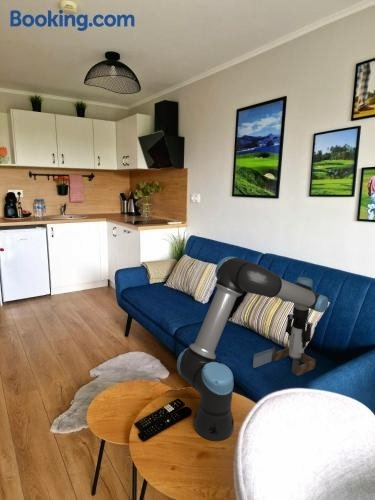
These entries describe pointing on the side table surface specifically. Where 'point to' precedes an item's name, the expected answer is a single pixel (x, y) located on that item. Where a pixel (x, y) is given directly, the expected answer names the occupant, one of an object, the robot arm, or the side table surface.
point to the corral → (295, 361)
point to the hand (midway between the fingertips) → (295, 349)
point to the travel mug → (295, 340)
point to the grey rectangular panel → (262, 358)
